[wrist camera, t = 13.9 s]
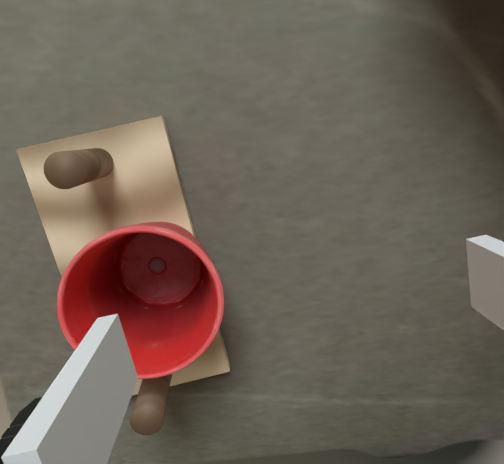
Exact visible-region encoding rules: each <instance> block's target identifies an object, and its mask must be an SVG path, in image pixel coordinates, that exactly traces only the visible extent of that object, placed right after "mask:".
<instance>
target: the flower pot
mask: <svg viewBox="0 0 504 464" xmlns="http://www.w3.org/2000/svg"><path fill="white" fill-rule="evenodd" d="M57 312H58V319H59V323H60V327H61V329H62V331H63V334H64V335H65V337H66V339H67V341H68V342H69V344H70V345H71V346H72V348H73V349H74V350H76V348H77V347H78V345H79V344H80V343H81V341H82V340H83V338H84V337H85V335H86V334H87V332H88V331H89V330H90V328H91V327H92V325H93V324H94V322H95V321H96V319H97V318H100V317H105V316H109V315H114V314H118V316H119V319H120V322H121V325H122V328H123V332H124V335H125V338H126V341H127V344H128V347H129V350H130V354H131V357H132V360H133V363H134V366H135V369H136V373H137V376H138V379H151V378H158V377H163V376H166V375H170V374H173V373H175V372H177V371H179V370H181V369H183V368H185V367H187V366H188V365H190V364H191V363H193V362H194V361H195V360H196V359H198V358H199V357H200V356H201V355H202V354H203V353H204V352H205V351H206V350H207V348H208V347H209V346H210V345H211V343H212V342H213V340H214V338H215V337H216V335H217V333H218V330H219V328H220V325H221V322H222V318H223V313H224V292H223V286H222V283H221V279H220V276H219V274H218V271H217V269H216V267H215V265H214V263H213V261H212V260H211V258H210V256H209V255H208V253H207V252H206V250H205V249H204V247H203V246H202V244H201V243H200V242H199V241H198V240H197V239H196V238H195V237H194V236H193V235H192V234H191V233H190V232H189V231H188V230H186V229H185V228H183V227H181V226H179V225H176V224H173V223H170V222H146V223H140V224H134V225H129V226H125V227H121V228H118V229H115V230H112V231H110V232H107V233H105V234H103V235H101V236H99V237H97V238H95V239H94V240H92V241H91V242H90V243H88V244H87V245H85V246H84V247H83V248H82V249H81V250H80V251H79V252H78V253H77V254H76V255H75V256H74V258H73V259H72V260H71V262H70V263H69V265H68V266H67V268H66V269H65V271H64V273H63V276H62V278H61V281H60V285H59V289H58V295H57Z"/></svg>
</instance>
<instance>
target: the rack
mask: <svg viewBox="0 0 504 464" xmlns="http://www.w3.org/2000/svg"><path fill="white" fill-rule="evenodd" d="M16 150H17V153H18V156H19V159H20V162H21V164H22V167H23V170H24V173H25V176H26V178H27V181H28V184H29V187H30V190H31V193H32V195H33V198H34V201H35V204H36V207H37V209H38V212H39V215H40V218H41V221H42V223H43V226H44V229H45V232H46V235H47V238H48V240H49V243H50V246H51V249H52V252H53V254H54V257H55V260H56V263H57V266H58V268H59V271H60V274H61V277H62V276H63V273H64V271H65V269H66V268H67V266H68V265H69V263H70V262H71V260H72V259H73V258H74V256H75V255H76V254H77V253H78V252H79V251H80V250H81V249H82V248H83V247H84V246H85V245H87V244H88V243H90V242H91V241H92V240H94V239H95V238H97V237H99V236H101V235H103V234H105V233H107V232H110V231H112V230H115V229H118V228H121V227H125V226H129V225H134V224H140V223H146V222H170V223H173V224H176V225H179V226H181V227H183V228H185V229H186V230H188V231H189V232H190V233H191V234H192V235H193V236H194V237H195V238H196V235H195V232H194V228H193V224H192V220H191V216H190V213H189V209H188V205H187V201H186V198H185V194H184V190H183V186H182V183H181V179H180V175H179V171H178V168H177V164H176V160H175V156H174V153H173V149H172V145H171V141H170V137H169V134H168V130H167V126H166V122H165V119H164V117H163V116H159V117H155V118H150V119H146V120H142V121H137V122H133V123H129V124H124V125H120V126H115V127H111V128H107V129H102V130H98V131H94V132H89V133H85V134H80V135H76V136H72V137H67V138H63V139H59V140H54V141H50V142H46V143H41V144H37V145H32V146H28V147H24V148H19V149H16ZM226 372H230V364H229V360H228V356H227V352H226V348H225V344H224V341H223V337H222V333H221V329H220V328H219V330H218V333H217V335H216V337H215V338H214V340H213V342H212V343H211V345H210V346H209V347H208V348H207V350H206V351H205V352H204V353H203V354H202V355H201V356H200V357H199V358H198V359H196V360H195V361H194V362H193V363H191V364H190V365H188V366H187V367H185V368H183V369H181V370H179V371H177V372H175V373H173V374H170V375H166V376H163V377H158V378H151V379H138V380H137V382H136V385H135V388H134V391H133V393H132V396H133V395H137V394H138V395H137V399H136V402H135V405H134V408H133V411H132V414H131V418H130V424H131V427H132V429H133V430H134V431H135V432H137V433H139V434H142V435H151V434H154V433H156V432H157V431H158V430H159V429H160V428H161V426H162V424H163V419H164V414H165V408H166V403H167V398H168V393H169V388H170V386H174V385H178V384H182V383H186V382H190V381H194V380H198V379H202V378H206V377H210V376H214V375H218V374H222V373H226Z"/></svg>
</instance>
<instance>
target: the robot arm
mask: <svg viewBox="0 0 504 464" xmlns="http://www.w3.org/2000/svg"><path fill="white" fill-rule="evenodd" d="M466 246H467V259H468V272H469V285H470V298H471V307H473V308H474V309H475V310H477V311H478V312H479V313H481V314H482V315H483V316H485V317H486V318H487V319H489V320H490V321H491V322H493V323H494V324H495V325H497V326H498V327H500V328H501V329H502V330H504V242H502V241H500V240H498V239H495V238H493V237H491V236H488V235H483V236H478V237H473V238H469V239H466ZM137 380H138V376H137V373H136V369H135V366H134V363H133V360H132V357H131V354H130V350H129V347H128V344H127V341H126V338H125V335H124V332H123V328H122V325H121V322H120V319H119V316H118V314H114V315H109V316H105V317H100V318H97V319H96V321H95V322H94V324H93V325H92V327H91V328H90V330H89V331H88V332H87V334H86V335H85V337H84V338H83V340H82V341H81V343H80V344H79V345H78V347H77V348H76V350H75V351H74V353H73V354H72V356H71V357H70V359H69V360H68V361H67V363H66V364H65V366H64V367H63V369H62V370H61V372H60V373H59V374H58V376H57V377H56V379H55V380H54V382H53V383H52V385H51V386H50V387H49V389H48V390H47V392H46V393H45V395H44V396H43V397H41V398H36V399H34V400H33V401H32V402H31V403H30V404H28V405H27V406H26V407H25V408H24V409H23V410H21V411H20V412H19V414H18V415H17V416H16V418H15V419H14V420H13V422H12V423H11V424H10V428H8V429H7V430H6V431H5V433H4V434H3V435H2V439H0V464H107V462H108V459H109V457H110V454H111V451H112V448H113V446H114V443H115V440H116V437H117V435H118V432H119V429H120V426H121V424H122V421H123V418H124V415H125V413H126V410H127V407H128V404H129V402H130V399H131V396H132V393H133V391H134V388H135V385H136V382H137Z"/></svg>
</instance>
